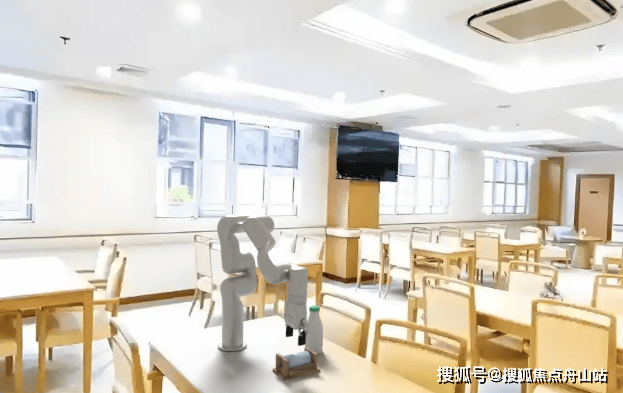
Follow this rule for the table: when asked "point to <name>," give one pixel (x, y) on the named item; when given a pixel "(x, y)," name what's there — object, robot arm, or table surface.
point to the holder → (297, 371)
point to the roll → (298, 359)
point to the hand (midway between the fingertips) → (295, 340)
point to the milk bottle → (314, 330)
